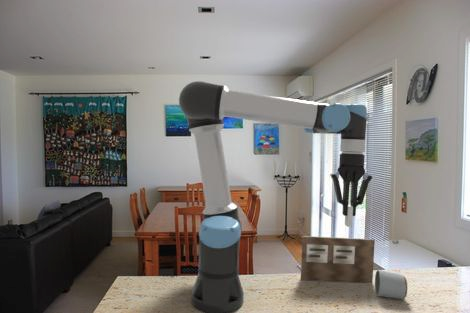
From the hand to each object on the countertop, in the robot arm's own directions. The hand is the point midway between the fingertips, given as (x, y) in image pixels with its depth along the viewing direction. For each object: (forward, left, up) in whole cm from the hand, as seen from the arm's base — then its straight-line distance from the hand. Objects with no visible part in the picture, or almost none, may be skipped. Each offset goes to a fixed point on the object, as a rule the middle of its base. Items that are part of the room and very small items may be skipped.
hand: (348, 225), depth 103 cm
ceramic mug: (+12, -3, -21) cm, 24 cm away
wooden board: (-2, +4, -21) cm, 21 cm away
